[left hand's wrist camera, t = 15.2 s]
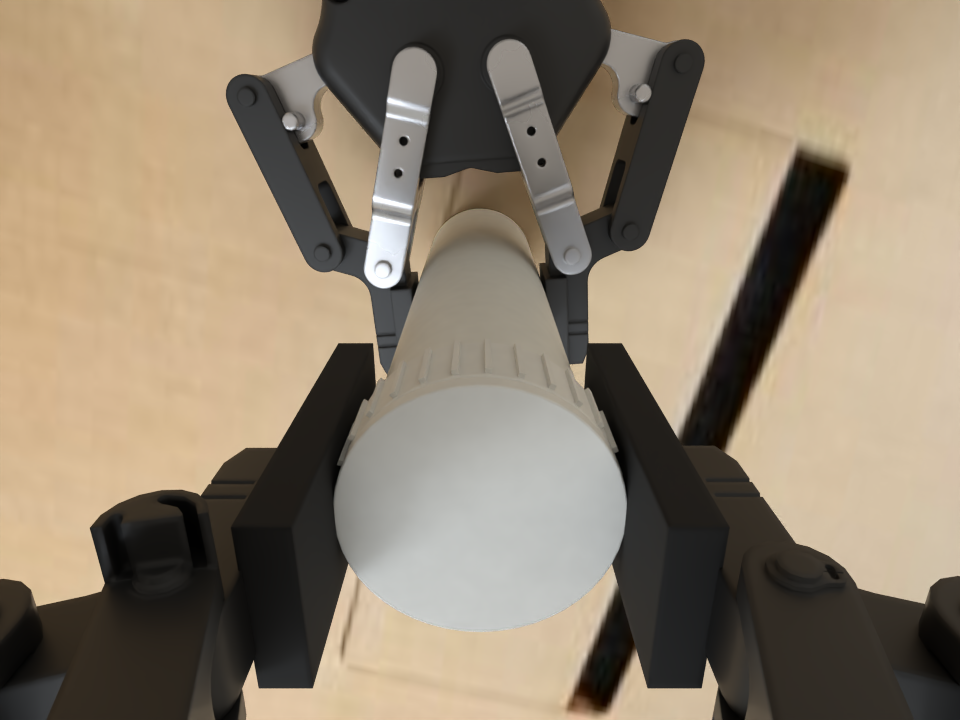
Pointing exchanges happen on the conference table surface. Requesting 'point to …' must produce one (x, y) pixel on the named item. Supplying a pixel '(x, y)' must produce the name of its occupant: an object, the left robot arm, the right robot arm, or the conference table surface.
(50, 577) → the conference table surface
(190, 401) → the conference table surface
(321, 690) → the conference table surface
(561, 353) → the white bottle
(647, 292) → the conference table surface
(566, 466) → the lid
